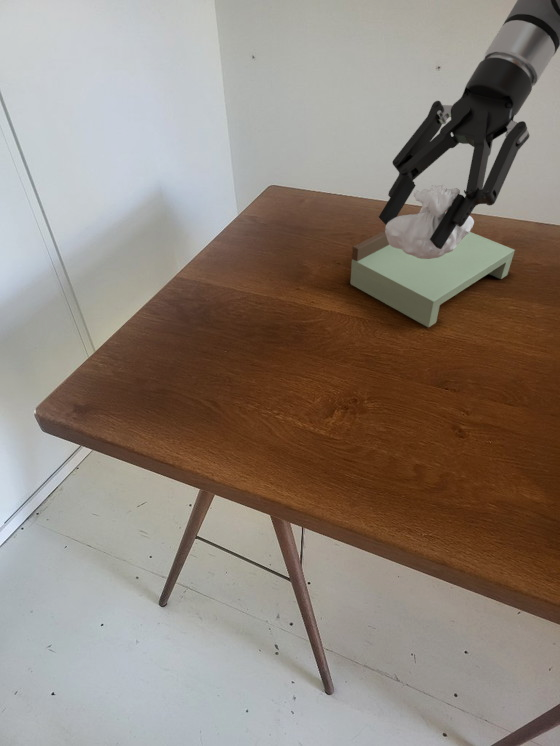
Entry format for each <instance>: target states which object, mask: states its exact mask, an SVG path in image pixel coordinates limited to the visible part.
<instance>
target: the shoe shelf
mask: <svg viewBox="0 0 560 746" xmlns="http://www.w3.org/2000/svg"><path fill="white" fill-rule="evenodd" d="M515 251H516V249H515V248H511V247H509V246H506V245H504V244H501V243H499V242H497V241H494V240H492V239H490V238H486V237H484V236H481V235H479V234H477V233H474V232H472V231H470V232H469V233H468V234H467V235H466V236H465V237H464V238H463V239H462V240H461V241H460V243H458V245H457V246H456V247H455V249H454V250H453V251H451V252H449V253H446V254H444V255H443V256H441V257H438V258H432V259H420V258H417V257H415V256H412V255H409V254H406V253H405V252H404V251H403V250H402V249H398V248H394V247H392V246H391V245H390V244H389V242H388V240H387V237H386V233H385V230H383V231H381V232H379V233H377V234H375V235H373V236H371V237H369V238H367V239H365V240H363V241H361V242H359V243H357V244H355V245H353V246H352V252H351V268H350V285H351V286H353V287H355V288H356V289H359V290H360V291H361V292H364V293H366V294H367V295H369V296H371V297H372V298H374V299H376V300H378V301H379V302H382V303H383V304H385V305H387V306H389V307H391V308H392V309H394V310H396V311H397V312H399V313H401V314H403V315H405V316H407V317H408V318H410V319H412V320H414V321H416V322H418V323H419V324H421V325H422V326H424V327H426V328H430V327H432V326H434V325H435V324H436V323H437V321H438V317H439V316H438V315H439V311H440V306H441V305H442V304H444V303H445V302H447V301H448V300H450V299H452V298H453V297H454V296H457V295H458V294H459V293H461V292H462V291H464V290H466V289H467V288H468V287H470V286H472V285H473V284H475V283H476V282H478V281H479V280H481V279H483V278H484V277H486V276H487V275H490V276H493V277H495V278H497V279H499V280H503V278H506V277H507V276H508V275H509V271H510V266H511V264H512V261H513V258H514V256H515V255H514V254H515Z"/></svg>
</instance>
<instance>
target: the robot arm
mask: <svg viewBox="0 0 560 746" xmlns="http://www.w3.org/2000/svg"><path fill="white" fill-rule="evenodd" d="M559 48H560V0H516V2H515V4H514V5H513V7H512V9H511V10H510V12H509V14H508V16H506V18H505V20H504V22H503V24H502V25H501V26H500V29H499V30H498V31H497V33H496V35H495V36H494V38H493V39H492V42H491V43H490V44H489V46H488V48H487V49H486V51H485V53H484V54H483V57H482V60H481V61H480V62H479V63H478V65H477V66H476V67H475V69H474V71H473V73H472V74H471V76H470V78H469V80H468V81H467V83H466V84H465V86H464V90H463V92H462V95H461V97H460V98H459V99H458V100H456V101H455V102H454V103H453V104H452V105H450V104H442V102H441V101H440V100H435V101H434V102H433V103H432V104H431V107H430V109H429V111H428V114H427V116H426V118H425V119H424V120H423V121H422V122H421V124H420V125H419V126H418V127H417V129H416V130H415V131H414V133H413V134H412V135H411V137H410V138H409V139H408V141H406V143H405V144H404V146H403V147H402V148H401V149H400V150H399V152H398V153H397V155H396V156H395V157H394V158H393V160H392V165H393V167H394V168H395V170H396V171H397V172H398V176H397V177H396V179H395V181H394V182H393V184H392V186H391V187H390V189H389V191H388V198H389V199H388V201H387V202H386V204H385V206H384V207H383V209H382V210H381V212H380V214H379V216H378V218H379V220H380V221H382V223H383V224H384V225H385V226H386V224H387V223H388V222H389V221H391V220H392V219H394V218H395V217H398V216H399V214H400V212H401V210H402V209H403V208H404V206H405V204H406V202H407V201H408V199H409V197H410V196H411V195H412V192H413V191H414V189H415V187H416V186H417V185H416V183H415V182H414V180H416V179H417V178H418V177H419V176H420V175H421V174H422V173H423V172H424V171H425V170H427V169H428V168H429V167H430V166H431V165H433V164H434V163H435V162H436V161H437V160H438V159H439V158H441V157H442V156H443V155H444V154H445V153H447V151H448V150H450V149H454V148H455V147H457V146H458V145H459V144H463V145H470V146H471V147H473V152H472V158H471V163H470V168H469V173H468V178H467V183H466V188H465V189H463V193H464V195H465V196H464V195H463V194H460V193H459V194H458V195H457V196H456V198H455V200H454V201H453V203H452V205H451V206H450V208H449V209H448V211H447V210H446V211H445V212H446V214H445V216H444V217H443V219H442V220H441V222H440V223H439V225H438V227H437V228H436V230H435V231H434V233H433V235H432V236H431V238H430V240H431V242H432V243H433V244H434V245H435V246H436V247H437V248H439V249H442V247H443V246H444V244H445V242H446V241H447V239H448V238H449V236H450V234H451V233H452V231H453V230H454V228H455V227H456V226H459V227H461V226H462V225H463V224H464V223H465V222H466V220H467V218H468V217H469V216H471V214H472V212H473V210H474V209H475V207H477V206H478V205H487V206H492V205H494V204H495V203H496V201H497V199H498V197H499V195H500V192H501V190H502V187H503V185H504V183H505V181H506V179H507V176H508V174H509V172H510V170H511V168H512V166H513V162H514V161H515V159H516V156H517V155H518V152H519V150H520V149H521V148H522V147H523V145H524V144H525V143H526V142H527V141H528V140H529V139H530V133H529V129H528V125H527V123H526V122H525V121H522V120H521V121H519V122H517V121H515V120H514V118H515V116H516V115H517V114H518V113H519V112H520V110H521V108H522V107H523V105H524V103H525V102H526V100H527V99H528V97H529V96H530V94H531V93H532V91H533V87H534V86H536V84H537V82H538V81H539V79H540V78H541V77H542V74H543V73H544V71H545V70H546V69H547V67H548V65H549V63H550V62H551V60H552V59H553V57H554V56H555V55H556V53H557V51H558V49H559ZM449 118H450V120H449V121H448V122H447V120H448V119H449ZM438 132H439V133H438ZM504 134H505V138H504V140H503V142H502V144H501V146H500V149H499V150H498V153H497V155H496V158H495V160H494V162H493V164H492V166H491V169H490V171H489V173H488V175H487V178H486V173H487V168H488V162H489V156H491V152H492V147H493V141H494V140H495V139H497V138H499V137H501V136H502V135H504ZM485 178H486V180H485Z"/></svg>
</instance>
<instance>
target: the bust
mask: <svg viewBox="0 0 560 746" xmlns="http://www.w3.org/2000/svg"><path fill="white" fill-rule="evenodd" d="M460 192H461V189H460V188H458V187H454V188H446V186H445V184H442V185H437V184H436V185H431V186H430V189H428V188H424V189H423V190H414V192H413V197H414V199H415V201H417V202H419V203H420V204H421V208H420V210H419V212H418V213H412V214H403V215H397V217H395V218H394V219H392V220H391V221H389V222H388V223H387V224H386V225H385V228H384V231H385V233H386V237H387V240H388V242H389V244H390V245H391V246H392V247H394V248H398V249H402V250H403V251H404V252H405V253H406V254H409V255H412V256H415V257H417V258H420V259H432V258H438V257H441V256H443V255H444V254H446V253H449V252H451V251H453V250H454V249H455V247H456V246H457V245H458V243H460V241H461V240H462V239H463V238H464V237H465V236H466V235H467V234H468V233H469V232H471V231H472V229H473V226H474V224H475V220H474V218H473V217H472V216H471V215H469V217H468V218H467V220H466V222H465V223H464V224H463V225H462V226H461V227H459V226H456V227H455V228H454V230H453V231H452V233H451V234H450V236H449V238H448V239H447V241H446V242H445V244H444V246H443V247H442V249H439V248H437V247H436V246H435V245H434V244H433V243H432V242H431V240H430V238H431V236H432V235H433V233H434V231H435V230H436V228H437V227H438V225H439V223H440V222H441V220H442V219H443V217H444V216H445V214H446V212H447V211H448V209H449V208H450V206H451V205H452V203H453V201H454V200H455V198H456V196H457V195H458V194H460Z"/></svg>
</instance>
